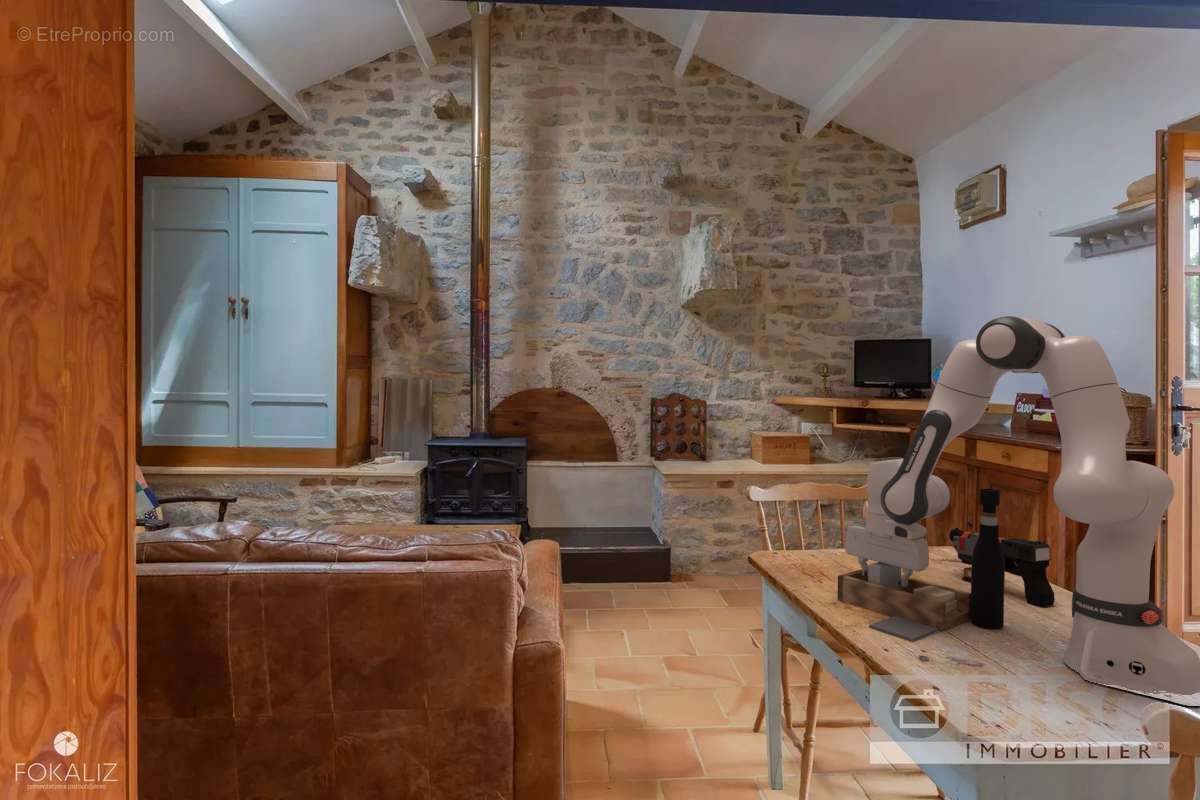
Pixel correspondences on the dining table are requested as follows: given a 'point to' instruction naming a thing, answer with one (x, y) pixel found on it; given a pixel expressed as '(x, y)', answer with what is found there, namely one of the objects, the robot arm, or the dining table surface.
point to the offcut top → (936, 594)
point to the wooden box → (903, 600)
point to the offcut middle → (951, 607)
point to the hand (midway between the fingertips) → (884, 580)
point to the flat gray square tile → (903, 628)
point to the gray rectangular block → (884, 575)
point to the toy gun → (1022, 552)
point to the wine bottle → (988, 568)
